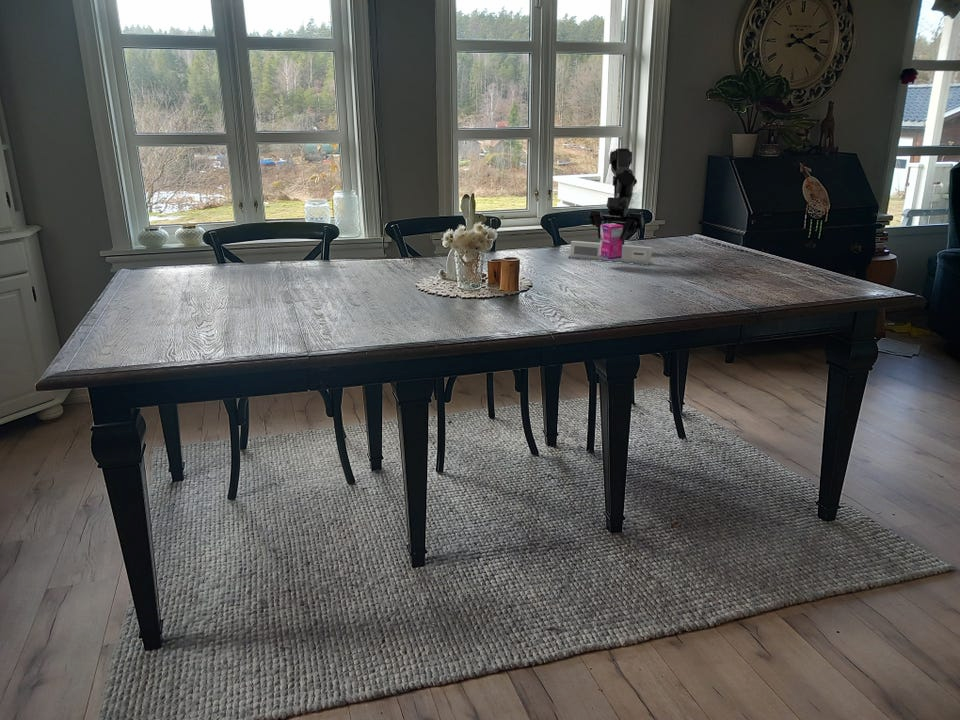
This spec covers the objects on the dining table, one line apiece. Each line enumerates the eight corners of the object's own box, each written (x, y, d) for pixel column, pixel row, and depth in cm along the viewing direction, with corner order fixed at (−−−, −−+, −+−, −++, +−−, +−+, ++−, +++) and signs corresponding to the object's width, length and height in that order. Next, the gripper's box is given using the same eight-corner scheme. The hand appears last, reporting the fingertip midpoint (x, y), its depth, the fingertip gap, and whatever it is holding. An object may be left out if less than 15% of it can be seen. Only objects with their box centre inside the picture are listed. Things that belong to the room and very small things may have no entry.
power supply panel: (574, 255, 274) (574, 240, 272) (652, 262, 261) (653, 246, 259) (568, 258, 269) (569, 242, 267) (647, 265, 256) (648, 249, 254)
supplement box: (598, 256, 254) (600, 224, 250) (611, 255, 256) (613, 222, 252) (608, 259, 249) (610, 226, 245) (622, 258, 252) (624, 225, 248)
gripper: (591, 186, 252) (579, 223, 246) (644, 189, 244) (633, 227, 238) (597, 206, 261) (586, 242, 256) (648, 210, 253) (637, 246, 248)
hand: (610, 239), depth 249 cm, fingers closed on supplement box, 8 cm apart
